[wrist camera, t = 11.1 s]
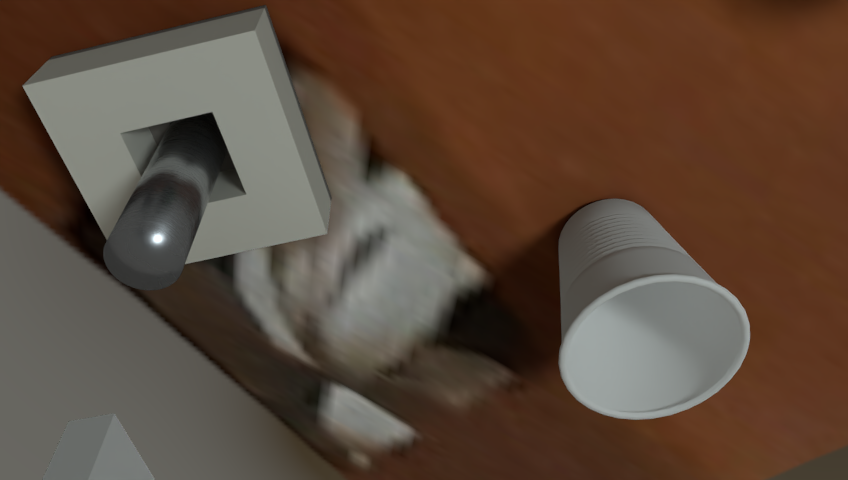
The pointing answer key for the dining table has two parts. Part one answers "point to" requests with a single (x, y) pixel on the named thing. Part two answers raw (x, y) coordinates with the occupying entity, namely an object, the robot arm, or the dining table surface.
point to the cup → (641, 317)
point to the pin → (167, 205)
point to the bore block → (181, 98)
